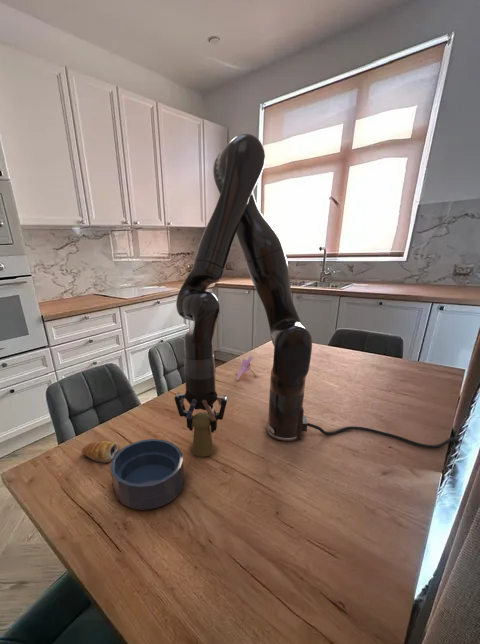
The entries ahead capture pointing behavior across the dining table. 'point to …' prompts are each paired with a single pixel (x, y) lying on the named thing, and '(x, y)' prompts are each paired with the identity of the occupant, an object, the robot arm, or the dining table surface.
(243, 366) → the lily
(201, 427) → the olive game pawn
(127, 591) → the dining table surface
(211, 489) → the dining table surface
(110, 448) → the pastry
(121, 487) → the basin
